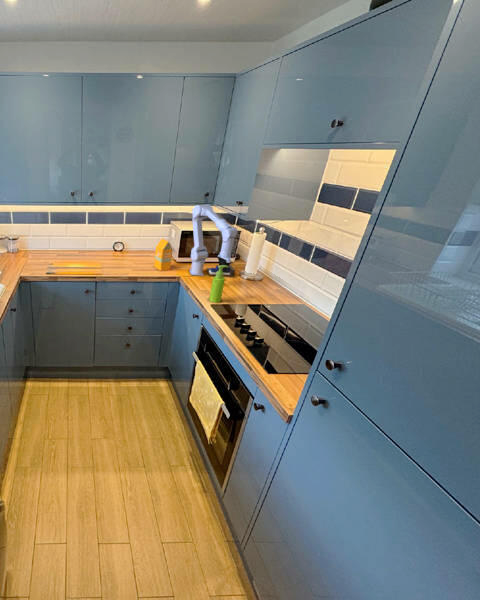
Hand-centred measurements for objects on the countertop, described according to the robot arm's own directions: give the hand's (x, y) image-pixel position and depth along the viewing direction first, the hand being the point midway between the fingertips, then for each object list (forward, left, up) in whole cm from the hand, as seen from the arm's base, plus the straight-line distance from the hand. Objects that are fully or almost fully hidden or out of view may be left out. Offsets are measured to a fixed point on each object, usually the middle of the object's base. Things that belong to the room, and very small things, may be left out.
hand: (222, 270), depth 195 cm
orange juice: (-23, -33, -9) cm, 42 cm away
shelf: (-18, +4, -9) cm, 21 cm away
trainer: (0, -1, -2) cm, 2 cm away
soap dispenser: (+25, -7, -9) cm, 27 cm away
